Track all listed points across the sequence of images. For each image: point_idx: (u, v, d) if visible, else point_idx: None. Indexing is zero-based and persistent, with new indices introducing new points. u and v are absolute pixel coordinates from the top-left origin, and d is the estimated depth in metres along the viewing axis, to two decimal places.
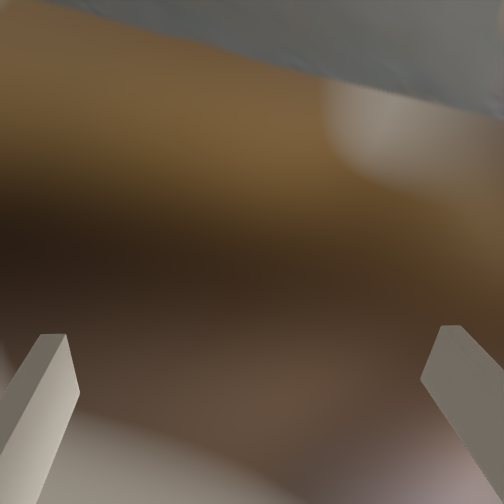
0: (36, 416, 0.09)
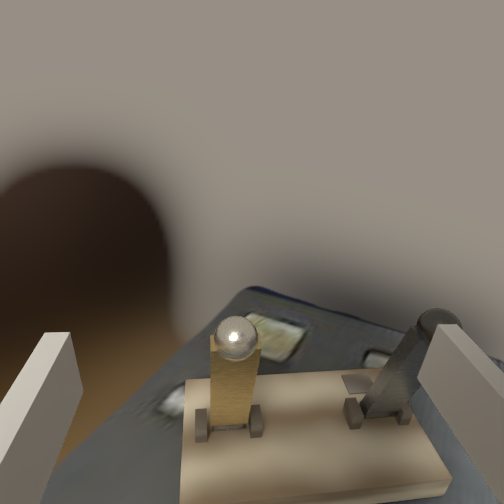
0: (41, 413, 0.09)
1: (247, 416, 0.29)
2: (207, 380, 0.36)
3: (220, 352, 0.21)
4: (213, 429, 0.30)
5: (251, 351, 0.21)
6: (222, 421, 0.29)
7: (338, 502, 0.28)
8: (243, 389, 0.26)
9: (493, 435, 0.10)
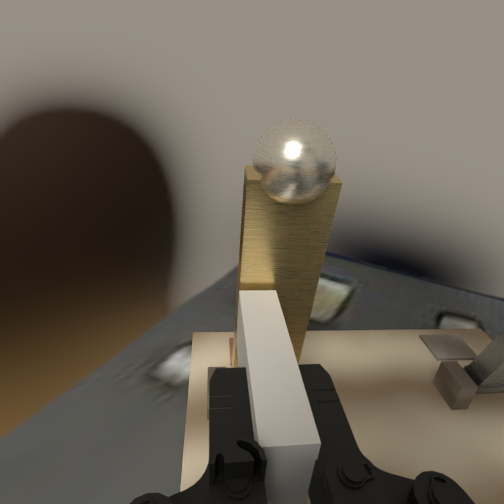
0: None
1: None
2: (225, 334, 0.25)
3: (267, 173, 0.11)
4: None
5: (327, 172, 0.11)
6: None
7: None
8: (295, 301, 0.15)
9: None
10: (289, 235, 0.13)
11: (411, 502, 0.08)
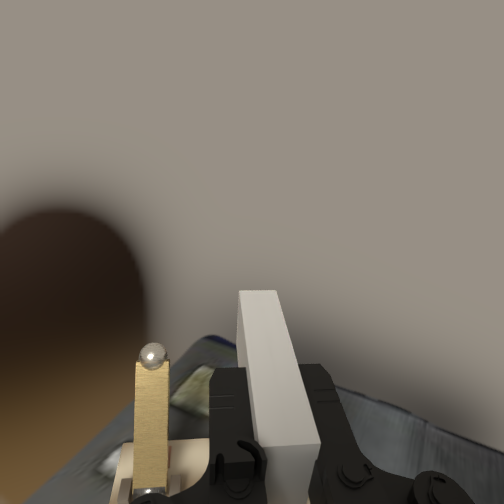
0: None
1: (165, 470, 0.34)
2: None
3: (141, 358, 0.35)
4: (134, 492, 0.34)
5: (160, 356, 0.35)
6: (143, 477, 0.34)
7: None
8: (159, 418, 0.35)
9: None
10: (152, 383, 0.35)
11: (411, 502, 0.08)
